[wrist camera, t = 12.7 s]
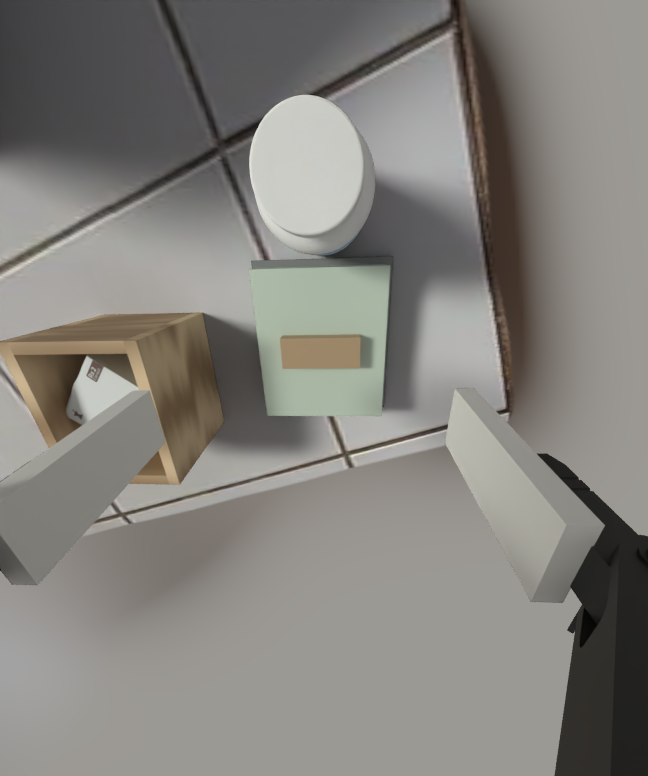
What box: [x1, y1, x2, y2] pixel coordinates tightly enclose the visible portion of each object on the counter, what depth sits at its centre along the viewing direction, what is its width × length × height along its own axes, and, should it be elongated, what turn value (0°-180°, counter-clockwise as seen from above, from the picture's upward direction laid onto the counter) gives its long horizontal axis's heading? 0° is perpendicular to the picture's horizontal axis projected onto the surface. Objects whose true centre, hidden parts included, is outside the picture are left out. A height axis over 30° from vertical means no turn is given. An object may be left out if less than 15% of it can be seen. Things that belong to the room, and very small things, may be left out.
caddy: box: [0, 313, 224, 485], centre depth 24 cm, size 11×9×9 cm
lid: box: [249, 264, 390, 416], centre depth 24 cm, size 12×10×4 cm
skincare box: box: [66, 354, 139, 425], centre depth 24 cm, size 6×6×7 cm
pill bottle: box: [249, 95, 375, 255], centre depth 17 cm, size 6×6×11 cm
